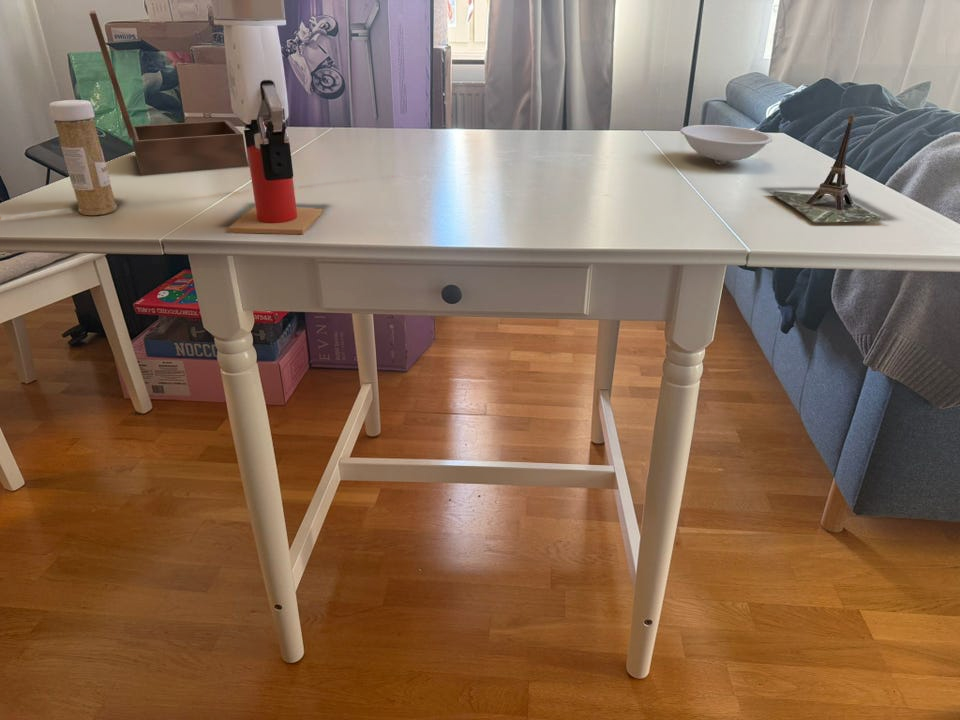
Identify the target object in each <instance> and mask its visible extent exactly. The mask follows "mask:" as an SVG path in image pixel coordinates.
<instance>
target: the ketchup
mask: <svg viewBox="0 0 960 720" xmlns="http://www.w3.org/2000/svg"><path fill="white" fill-rule="evenodd" d="M254 139H255V145H253V146H250V147H248V148H246V153H247V152H248V155H247V160H248V159H249V161H248V166H249V172H250V180H251V185H252V192H253V199H254V205H255V206H254V207H256V213H257V219H258V220H259V221H260V222H264V223H283V222H288V221H292V220H294V219H296V218H297V209H296V208H297V203H296V193H295V186H294V177H293V178H291V179H283V180H273V181H267V180H266V179H265V178H264V173H263V165H262V158H261V151H260V144H263V143H262V139H261V135H260V133H257V134H254Z"/></svg>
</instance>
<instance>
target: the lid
mask: <svg viewBox="0 0 960 720" xmlns="http://www.w3.org/2000/svg"><path fill="white" fill-rule="evenodd" d="M88 13H89V17H90V20H91V23H92V26H93V30H94V32H95V36H96V39H97V42H98V45H99V47H100V52H101V54H102V57H103V60H104V63H105V67H106V69H107V73H108V76H109V79H110V82H111V86H112V88H113V92H114V94H115V97H116V100H117V103H118V107H119V109H120V114H121V117H122V119H123V122H124V125H125V129H126V131H127V134H128V137H129V139H131V140H132V138H135V134H134V131H133V128H132V126H133V125H132V121H131V119H130V116H129V112H128V109H127V106H126V103H125V100H124V97H123V94H122V90H121V86H120V84H119V81H118V78H117V75H116V72H115V68H114V65H113V62H112V59H111V56H110V52H109V49H108V47H107V42H106V40H105V36H104V34H103V30H102V28H101V27H102V26H101V25H100V22H99V21H100V20H99V18H98V15H97V12H96V10H89V12H88Z"/></svg>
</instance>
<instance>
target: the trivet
mask: <svg viewBox="0 0 960 720" xmlns="http://www.w3.org/2000/svg"><path fill="white" fill-rule="evenodd" d="M296 209H297V218H296V219H294V220H292V221H288V222H283V223H264V222H260V221H259V220H258V219H257V213H256V206H253V207H252V208H251V209H250V210H249V211H247V212H246V213H245V214H244V215H242V216H241V217H240V218H239V219H237V220H236V221H235V222H233V223H232V224H231V225H230V226H228V227H227V229H228V233H233V234H234V233H235V234H236V233H238V234H239V233H240V234H275V235H304V234H305V233H306V232H307V231H308V230H309V229H310V228H311V226H312V225H313V224H314V223H315V222H316V221H317V220H318V219H319V217H321V216H322V214H324V213H323V209H322V208H307V207H305V208H301V207H296Z"/></svg>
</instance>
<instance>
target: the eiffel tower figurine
mask: <svg viewBox="0 0 960 720" xmlns="http://www.w3.org/2000/svg"><path fill="white" fill-rule="evenodd" d="M855 109H856V106H855V105H854V107H853V109H852V113H851V114H850V115H849V117H848V121H847V124H846V125H847V126H846V128H845V131H844V135H843V138H842V141H841V144H840V147H839V149H838V153H837V155H836V157H835V160H834V163H833V165H832V166H830V171H829V173H828V175H827V176H826V178H825V180H824V181H823V182H822V183H820V184H819V187H818V189H817V190H816V191H815V192H814V193H798V192H791V191H776V190H775V191H774V190H767V191H768V193H770V194H771V195H773V196H775V197H776V198H777V199H778V200H780V201H782V202H783V203H786V204H788V205H789V206H791V207H792V208H794V209H795V210H797V211H799V213H801V214H802V215H804V216H805V217H806V218H807V219H808V220H810V221H812V222H813V223H850V222H874V221H875V222H876V221H888V219H887V218H885V217H882V216H879V215H876V214H874V213H872V212H870V211H868V210H867V209H865V208H863V207H861V206H859V205H857V204H856V203H854V202H853V200H852V197H851V194H850V192H849V189H848V188H849V183H847V182H846V169H847V166H846V160H847V154H848V153H847V152H848V148H849V143H850V137H851V132H852V127H853V122H854V121H855V119H856V118H855V114H854V112H855ZM835 177H836V181H834V180H835Z"/></svg>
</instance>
